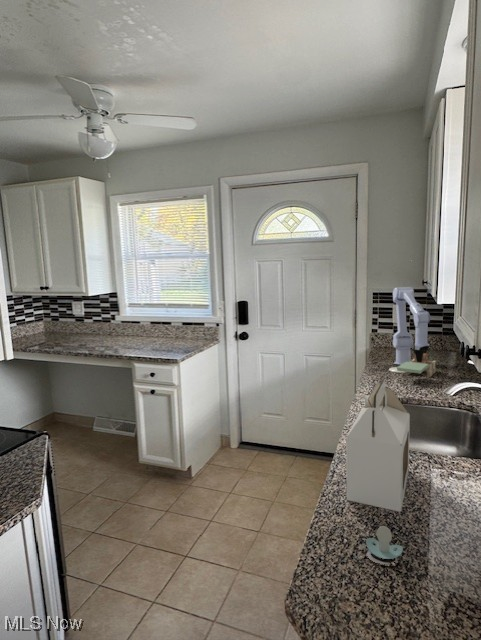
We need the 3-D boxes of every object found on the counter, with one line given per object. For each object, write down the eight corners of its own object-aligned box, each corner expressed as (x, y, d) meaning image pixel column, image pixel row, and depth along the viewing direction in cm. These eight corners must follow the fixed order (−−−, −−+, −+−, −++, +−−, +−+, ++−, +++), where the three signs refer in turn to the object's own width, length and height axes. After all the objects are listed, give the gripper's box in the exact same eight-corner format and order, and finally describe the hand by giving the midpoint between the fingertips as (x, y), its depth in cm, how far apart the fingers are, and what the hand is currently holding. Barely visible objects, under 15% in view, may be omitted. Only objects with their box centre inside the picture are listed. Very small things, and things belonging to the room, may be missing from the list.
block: (417, 361, 217) (417, 352, 217) (427, 362, 214) (427, 353, 214) (414, 363, 214) (414, 354, 213) (424, 365, 210) (424, 355, 210)
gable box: (362, 462, 125) (362, 373, 121) (408, 470, 119) (410, 377, 115) (346, 500, 106) (345, 396, 102) (400, 513, 100) (402, 402, 96)
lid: (405, 364, 212) (405, 361, 212) (428, 366, 205) (428, 364, 205) (397, 370, 201) (397, 367, 201) (420, 373, 194) (420, 370, 194)
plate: (392, 367, 230) (392, 366, 229) (411, 369, 223) (411, 368, 223) (386, 371, 222) (386, 370, 222) (405, 374, 216) (405, 372, 215)
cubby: (414, 369, 224) (414, 358, 223) (435, 371, 217) (436, 360, 217) (406, 374, 214) (406, 363, 213) (429, 377, 207) (429, 366, 206)
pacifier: (400, 573, 81) (403, 553, 86) (400, 545, 80) (403, 526, 85) (362, 562, 84) (367, 543, 90) (362, 535, 83) (367, 517, 89)
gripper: (425, 338, 204) (425, 364, 206) (433, 333, 215) (432, 358, 217) (411, 337, 208) (410, 363, 210) (419, 332, 219) (418, 357, 221)
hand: (420, 360), depth 214 cm, fingers closed on block, 5 cm apart
